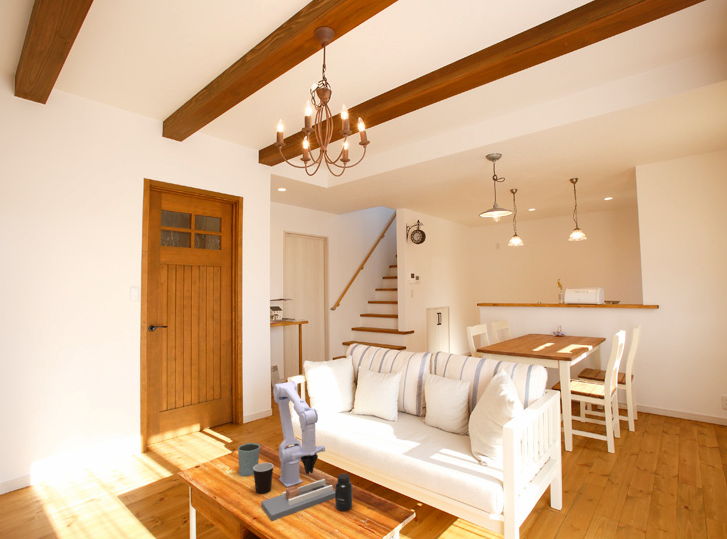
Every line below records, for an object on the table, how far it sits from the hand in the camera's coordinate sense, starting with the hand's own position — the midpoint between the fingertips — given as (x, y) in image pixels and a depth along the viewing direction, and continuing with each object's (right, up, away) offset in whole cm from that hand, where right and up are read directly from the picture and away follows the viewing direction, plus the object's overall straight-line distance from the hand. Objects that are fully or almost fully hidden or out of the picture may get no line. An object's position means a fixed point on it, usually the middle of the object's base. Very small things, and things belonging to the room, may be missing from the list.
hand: (309, 472), depth 158 cm
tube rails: (0, -8, -1) cm, 8 cm away
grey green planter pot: (-33, -13, +24) cm, 43 cm away
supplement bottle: (+15, -10, -8) cm, 20 cm away
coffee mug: (-21, -12, +8) cm, 25 cm away
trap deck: (-4, -10, -3) cm, 11 cm away
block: (-6, -8, -5) cm, 11 cm away
